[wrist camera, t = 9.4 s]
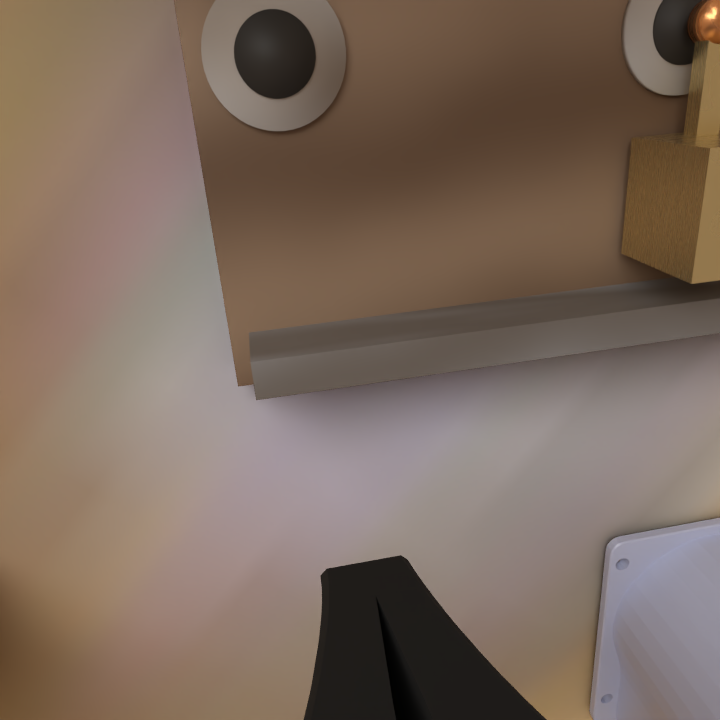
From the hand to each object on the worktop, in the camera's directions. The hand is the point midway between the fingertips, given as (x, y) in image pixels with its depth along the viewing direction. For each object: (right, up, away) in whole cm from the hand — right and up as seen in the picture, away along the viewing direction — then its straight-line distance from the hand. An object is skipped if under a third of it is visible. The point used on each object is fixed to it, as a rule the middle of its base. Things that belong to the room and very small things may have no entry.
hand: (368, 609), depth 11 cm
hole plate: (+9, +11, +8) cm, 16 cm away
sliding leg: (+8, +10, +6) cm, 14 cm away
